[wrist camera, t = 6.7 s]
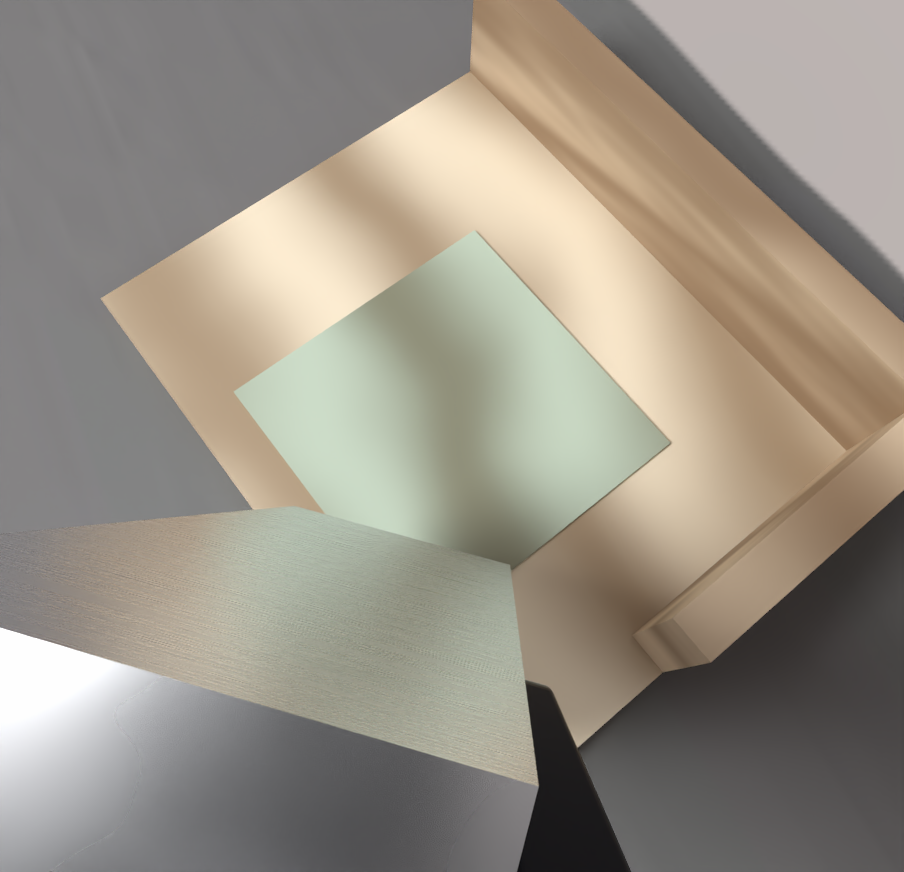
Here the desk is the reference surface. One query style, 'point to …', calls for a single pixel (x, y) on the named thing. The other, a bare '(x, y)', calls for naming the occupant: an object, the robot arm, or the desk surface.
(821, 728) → the desk surface
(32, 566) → the aluminium block
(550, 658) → the tan wooden shallow tray
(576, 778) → the robot arm
